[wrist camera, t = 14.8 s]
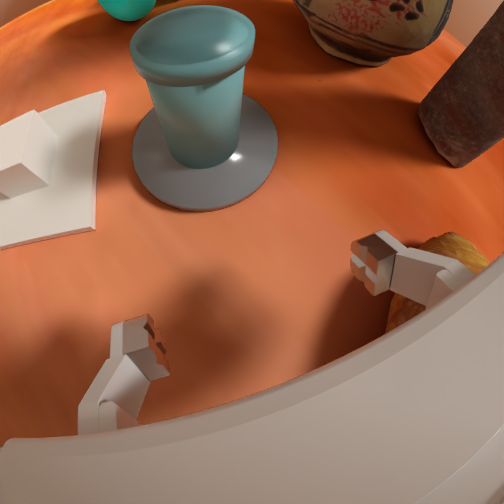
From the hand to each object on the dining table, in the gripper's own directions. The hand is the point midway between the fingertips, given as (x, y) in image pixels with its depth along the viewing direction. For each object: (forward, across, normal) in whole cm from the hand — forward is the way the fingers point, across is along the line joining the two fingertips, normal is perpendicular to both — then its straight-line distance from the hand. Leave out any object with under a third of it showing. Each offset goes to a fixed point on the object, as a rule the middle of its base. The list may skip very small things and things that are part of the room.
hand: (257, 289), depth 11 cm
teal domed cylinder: (+12, -1, -3) cm, 12 cm away
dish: (+12, -1, -3) cm, 12 cm away
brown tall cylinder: (+10, -22, 0) cm, 25 cm away
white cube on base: (+15, +13, -5) cm, 20 cm away
